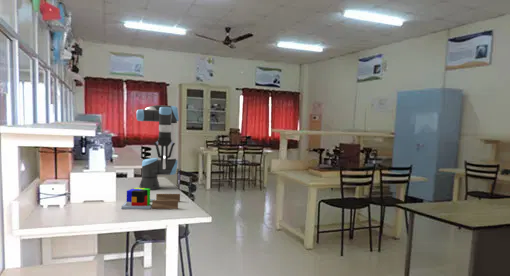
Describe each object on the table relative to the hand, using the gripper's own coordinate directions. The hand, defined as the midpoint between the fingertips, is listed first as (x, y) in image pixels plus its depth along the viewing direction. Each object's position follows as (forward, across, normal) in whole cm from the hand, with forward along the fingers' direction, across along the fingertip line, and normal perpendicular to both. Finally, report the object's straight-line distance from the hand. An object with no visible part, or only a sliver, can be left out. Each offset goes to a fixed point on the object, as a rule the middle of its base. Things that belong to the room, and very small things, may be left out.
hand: (164, 168), depth 205 cm
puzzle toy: (+23, -15, -3) cm, 27 cm away
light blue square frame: (+23, -14, -2) cm, 27 cm away
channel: (+23, +2, -2) cm, 23 cm away
